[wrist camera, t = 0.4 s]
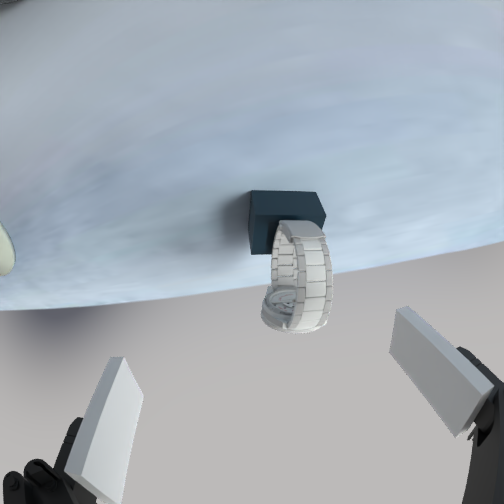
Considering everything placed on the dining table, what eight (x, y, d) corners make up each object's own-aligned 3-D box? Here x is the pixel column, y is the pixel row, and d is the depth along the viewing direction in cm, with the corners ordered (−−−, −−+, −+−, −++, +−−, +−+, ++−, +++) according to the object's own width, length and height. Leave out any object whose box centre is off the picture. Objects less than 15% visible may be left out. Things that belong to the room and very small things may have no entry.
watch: (247, 244, 27) (258, 352, 19) (253, 171, 21) (273, 290, 14) (303, 243, 27) (330, 345, 20) (321, 174, 22) (372, 284, 14)
